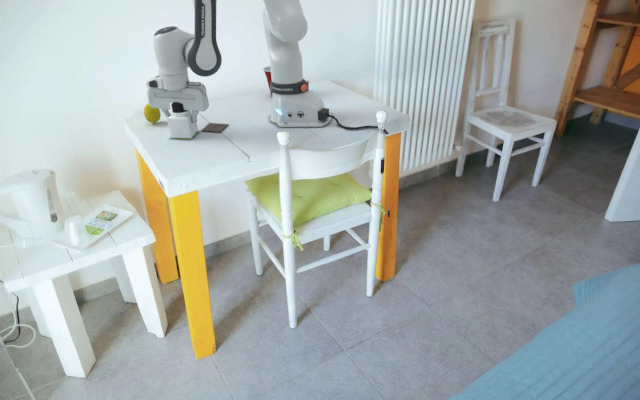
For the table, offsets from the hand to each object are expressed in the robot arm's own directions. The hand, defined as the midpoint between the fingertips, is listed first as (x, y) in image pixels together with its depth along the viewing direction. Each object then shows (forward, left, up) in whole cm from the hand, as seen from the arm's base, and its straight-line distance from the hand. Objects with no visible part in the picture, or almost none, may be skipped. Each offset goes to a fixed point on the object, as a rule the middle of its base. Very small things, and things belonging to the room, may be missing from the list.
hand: (182, 121), depth 156 cm
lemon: (+16, -8, -5) cm, 19 cm away
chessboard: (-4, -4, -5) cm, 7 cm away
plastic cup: (-19, -46, -5) cm, 50 cm away
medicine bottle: (0, 0, -5) cm, 5 cm away
